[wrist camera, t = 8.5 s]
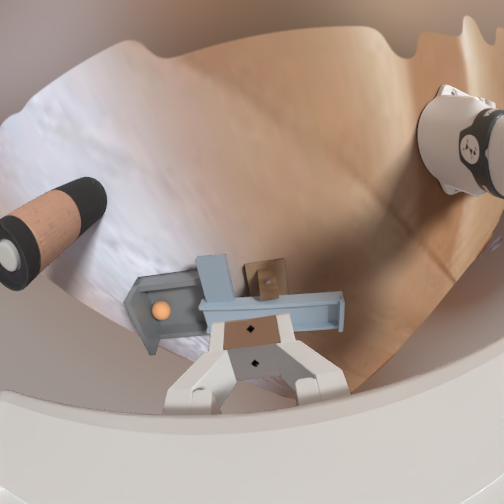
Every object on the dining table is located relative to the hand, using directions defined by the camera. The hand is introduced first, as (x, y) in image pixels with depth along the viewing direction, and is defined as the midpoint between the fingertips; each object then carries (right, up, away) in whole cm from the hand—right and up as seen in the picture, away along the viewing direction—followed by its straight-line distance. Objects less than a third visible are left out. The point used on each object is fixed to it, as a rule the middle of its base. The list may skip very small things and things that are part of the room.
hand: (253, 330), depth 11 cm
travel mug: (-25, +11, +26) cm, 38 cm away
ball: (-15, -6, +33) cm, 36 cm away
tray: (-12, -5, +34) cm, 37 cm away
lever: (+2, -2, +27) cm, 28 cm away
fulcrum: (+3, -3, +34) cm, 34 cm away
